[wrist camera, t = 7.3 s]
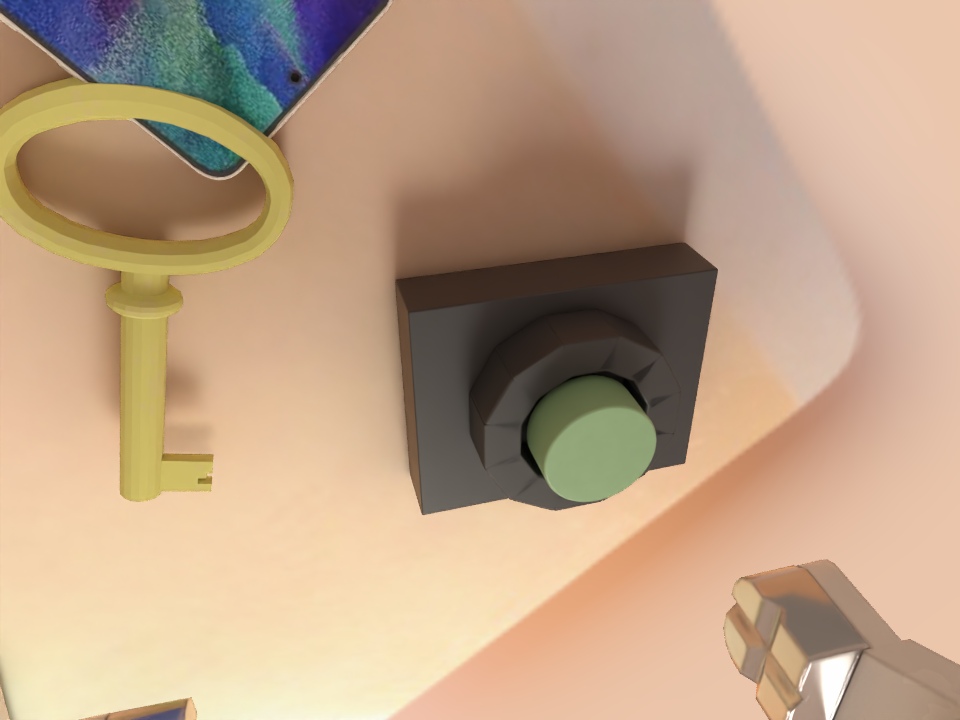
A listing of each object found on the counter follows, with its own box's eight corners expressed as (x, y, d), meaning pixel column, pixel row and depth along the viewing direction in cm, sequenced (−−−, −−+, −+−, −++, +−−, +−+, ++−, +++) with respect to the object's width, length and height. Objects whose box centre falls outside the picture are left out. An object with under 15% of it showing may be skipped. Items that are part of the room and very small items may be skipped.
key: (134, 474, 25) (125, 520, 23) (-45, 90, 18) (-76, 115, 16) (352, 425, 26) (359, 465, 25) (262, 45, 19) (264, 64, 18)
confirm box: (685, 242, 26) (750, 294, 23) (658, 428, 30) (710, 495, 27) (394, 279, 24) (420, 342, 21) (410, 475, 28) (433, 553, 25)
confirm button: (638, 365, 24) (664, 397, 22) (627, 456, 26) (650, 490, 24) (526, 384, 23) (546, 417, 22) (524, 476, 25) (542, 512, 23)
